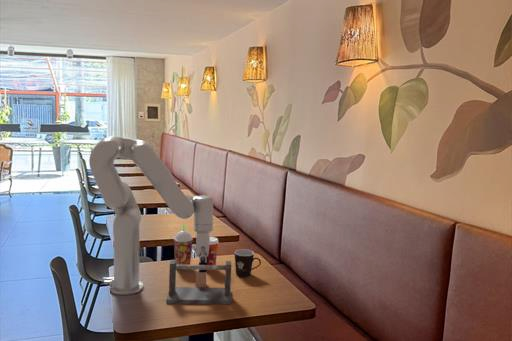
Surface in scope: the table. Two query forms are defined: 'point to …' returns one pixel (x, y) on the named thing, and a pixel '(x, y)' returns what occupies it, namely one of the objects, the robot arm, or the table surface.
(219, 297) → the rack
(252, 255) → the coffee mug
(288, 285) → the table surface
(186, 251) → the smoothie
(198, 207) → the robot arm
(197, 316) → the table surface
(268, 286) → the table surface
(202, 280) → the open topped box
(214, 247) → the paper cup
